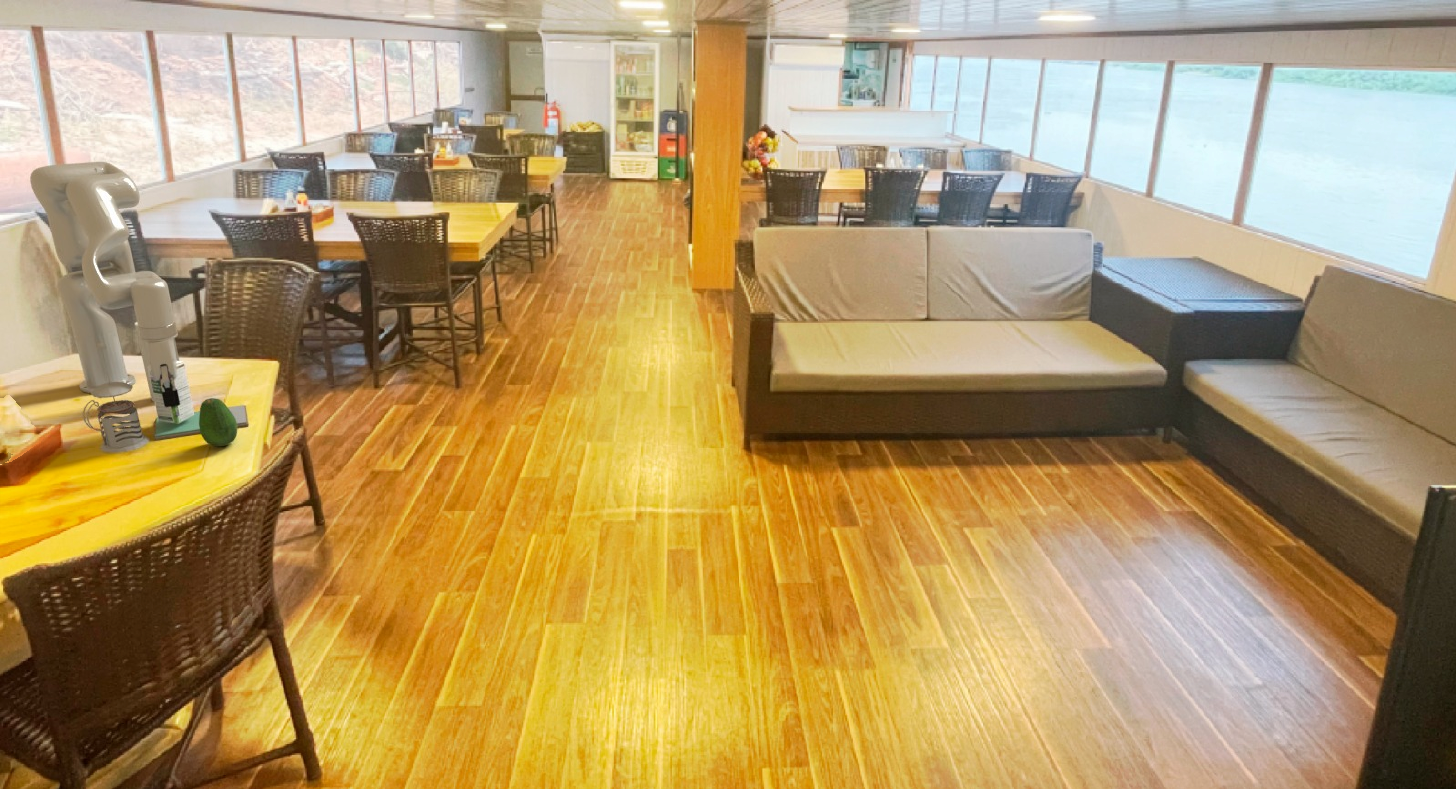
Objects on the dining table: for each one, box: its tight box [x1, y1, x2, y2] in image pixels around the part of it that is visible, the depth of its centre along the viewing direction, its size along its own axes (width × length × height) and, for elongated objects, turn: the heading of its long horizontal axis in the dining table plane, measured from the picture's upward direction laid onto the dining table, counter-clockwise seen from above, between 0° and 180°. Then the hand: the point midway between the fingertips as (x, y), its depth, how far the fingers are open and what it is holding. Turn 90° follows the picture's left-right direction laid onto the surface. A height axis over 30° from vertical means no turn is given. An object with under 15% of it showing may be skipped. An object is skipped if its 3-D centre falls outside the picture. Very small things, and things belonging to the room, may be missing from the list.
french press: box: [82, 343, 150, 454], centre depth 208 cm, size 10×12×25 cm
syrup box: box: [147, 360, 195, 424], centre depth 219 cm, size 6×6×14 cm
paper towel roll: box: [134, 321, 180, 403], centre depth 234 cm, size 7×6×21 cm
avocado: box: [199, 397, 238, 447], centre depth 212 cm, size 8×8×12 cm
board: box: [153, 404, 249, 441], centre depth 225 cm, size 13×20×1 cm, turn 119°
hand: (172, 399), depth 220 cm, fingers open, 8 cm apart
